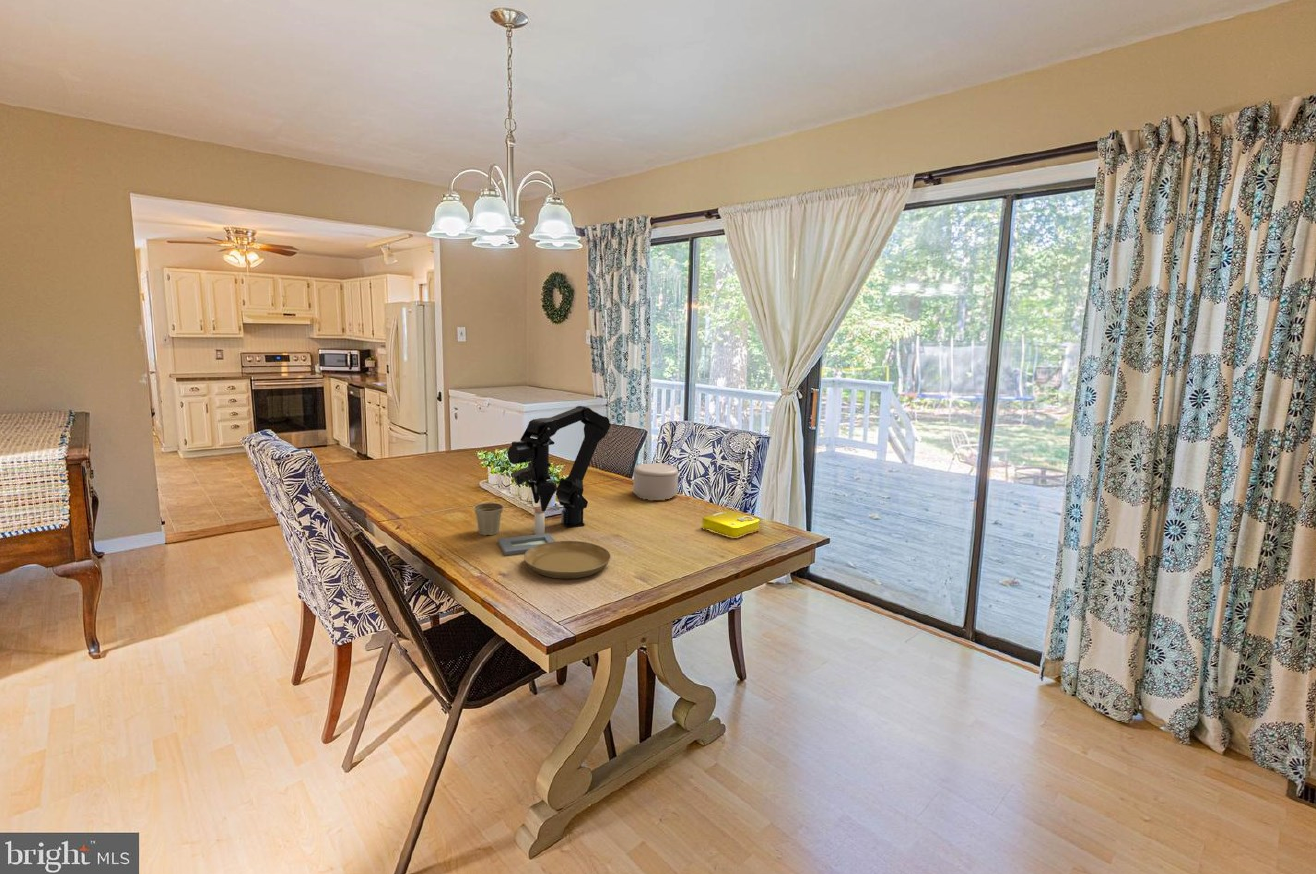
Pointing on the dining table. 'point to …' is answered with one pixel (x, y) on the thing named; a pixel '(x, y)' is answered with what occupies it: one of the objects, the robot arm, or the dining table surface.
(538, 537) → the keyhole plate
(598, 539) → the dining table surface
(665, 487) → the container
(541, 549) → the plant saucer
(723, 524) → the element tile
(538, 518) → the cream peg
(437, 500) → the dining table surface
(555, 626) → the dining table surface
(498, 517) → the flower pot
